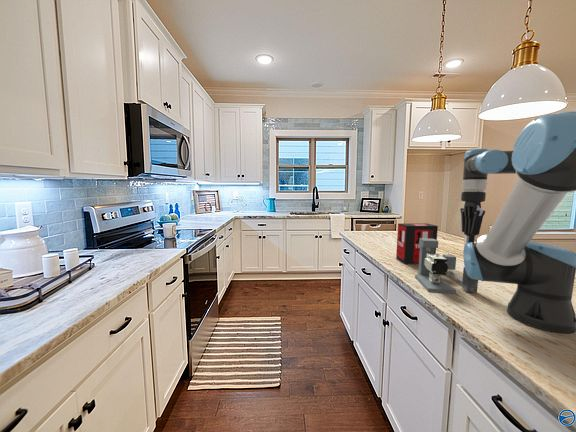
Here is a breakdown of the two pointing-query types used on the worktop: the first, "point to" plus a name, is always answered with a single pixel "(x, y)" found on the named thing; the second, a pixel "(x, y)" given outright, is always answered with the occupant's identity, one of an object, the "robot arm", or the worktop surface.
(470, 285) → the lever
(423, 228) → the cleaning product box
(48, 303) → the worktop surface
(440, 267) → the pneumatic valve
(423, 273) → the press
